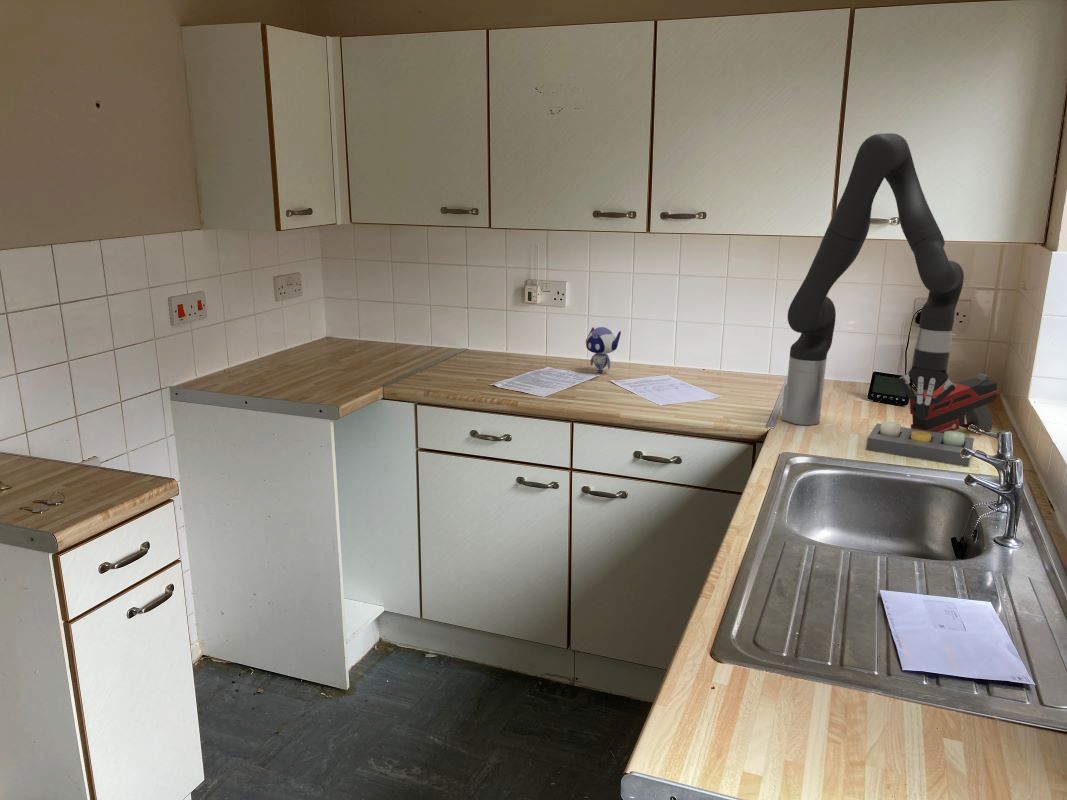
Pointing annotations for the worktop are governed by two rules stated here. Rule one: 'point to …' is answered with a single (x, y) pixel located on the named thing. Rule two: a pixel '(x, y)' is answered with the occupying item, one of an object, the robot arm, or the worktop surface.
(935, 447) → the panel
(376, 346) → the worktop surface
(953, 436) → the button sage
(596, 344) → the toy
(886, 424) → the button ivory
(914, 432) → the button amber
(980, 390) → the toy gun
